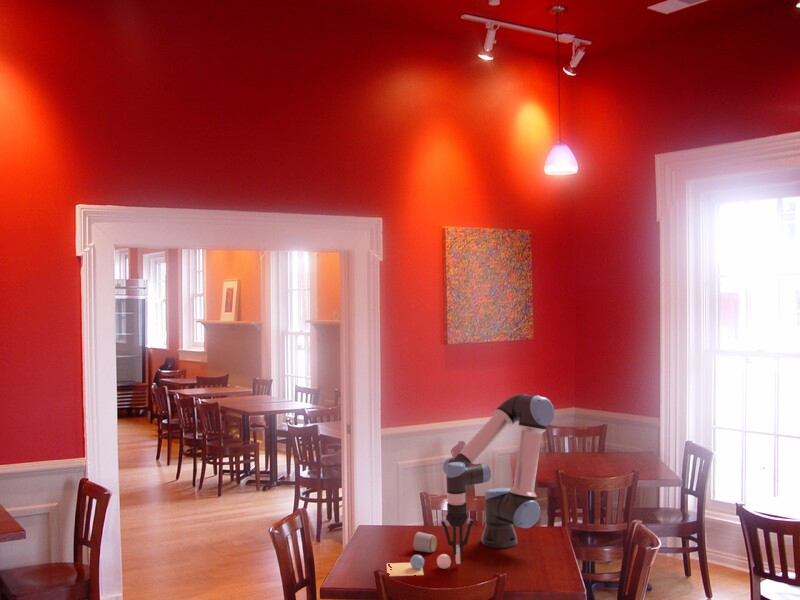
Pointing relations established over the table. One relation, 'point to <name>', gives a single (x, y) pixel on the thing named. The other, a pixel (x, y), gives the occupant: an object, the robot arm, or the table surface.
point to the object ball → (417, 561)
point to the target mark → (403, 570)
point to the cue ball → (443, 561)
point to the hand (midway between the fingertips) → (458, 562)
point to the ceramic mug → (424, 542)
